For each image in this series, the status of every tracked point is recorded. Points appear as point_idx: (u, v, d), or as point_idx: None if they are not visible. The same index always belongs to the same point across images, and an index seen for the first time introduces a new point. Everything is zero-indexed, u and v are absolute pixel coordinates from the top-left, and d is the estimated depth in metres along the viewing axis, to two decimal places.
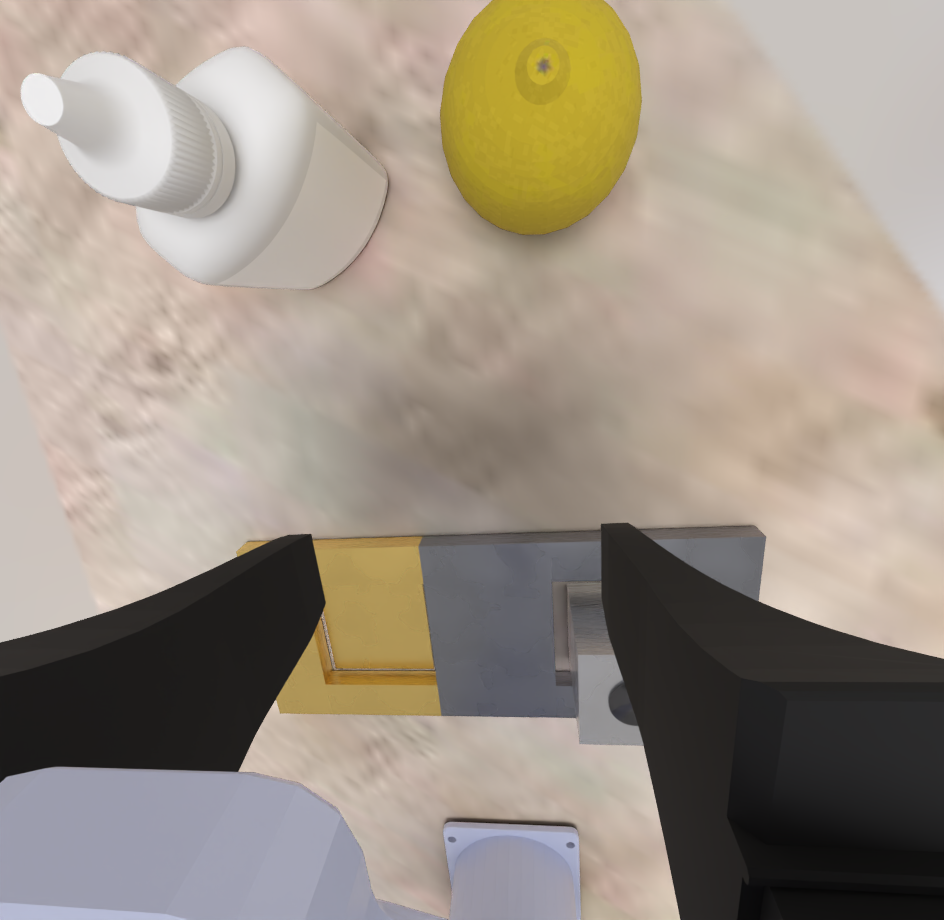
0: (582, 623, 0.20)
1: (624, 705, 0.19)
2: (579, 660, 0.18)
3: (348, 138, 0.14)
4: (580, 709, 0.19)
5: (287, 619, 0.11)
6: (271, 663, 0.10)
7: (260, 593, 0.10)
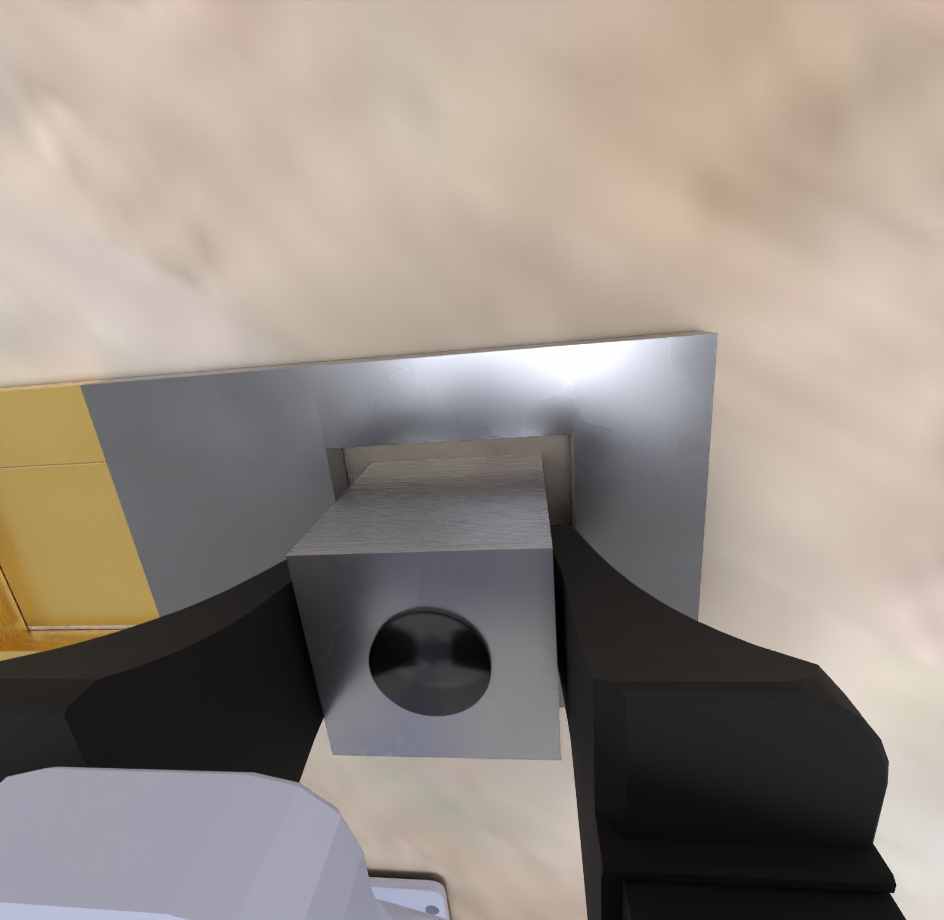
0: (345, 509, 0.10)
1: (401, 671, 0.09)
2: (291, 569, 0.08)
3: None
4: (318, 681, 0.09)
5: None
6: None
7: None
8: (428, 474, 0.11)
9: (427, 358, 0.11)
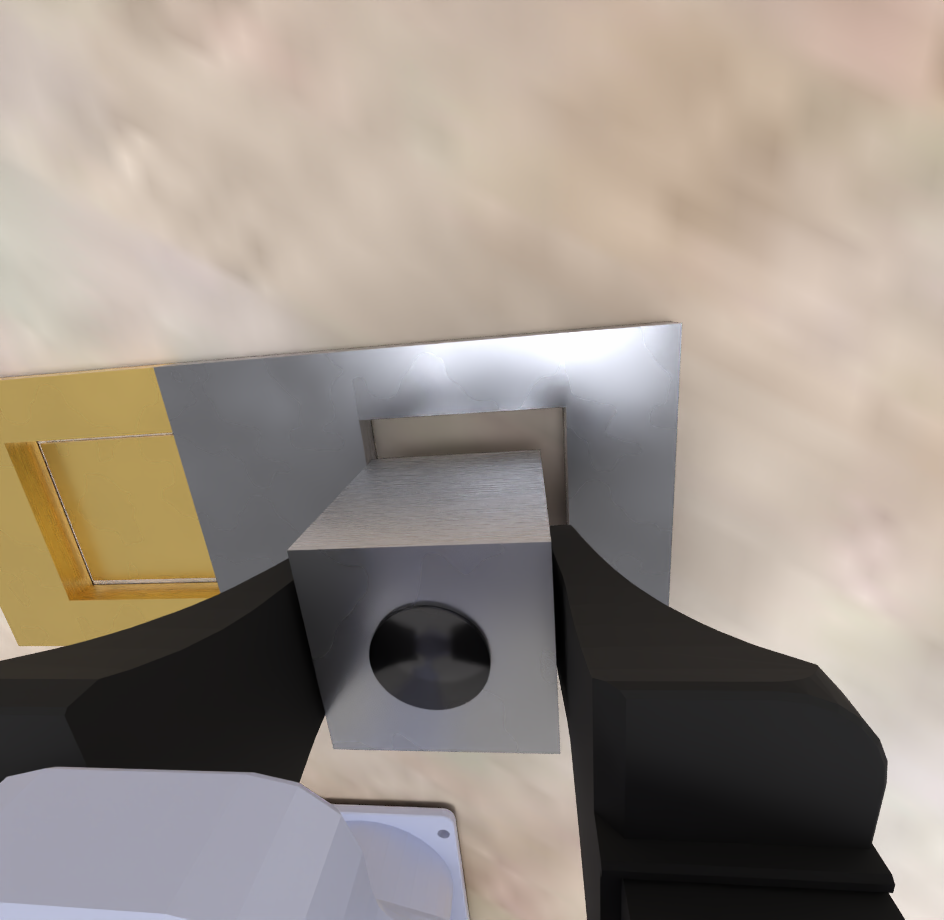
0: (346, 505, 0.10)
1: (401, 664, 0.09)
2: (292, 563, 0.08)
3: None
4: (319, 675, 0.09)
5: None
6: None
7: None
8: (428, 471, 0.12)
9: (445, 344, 0.13)
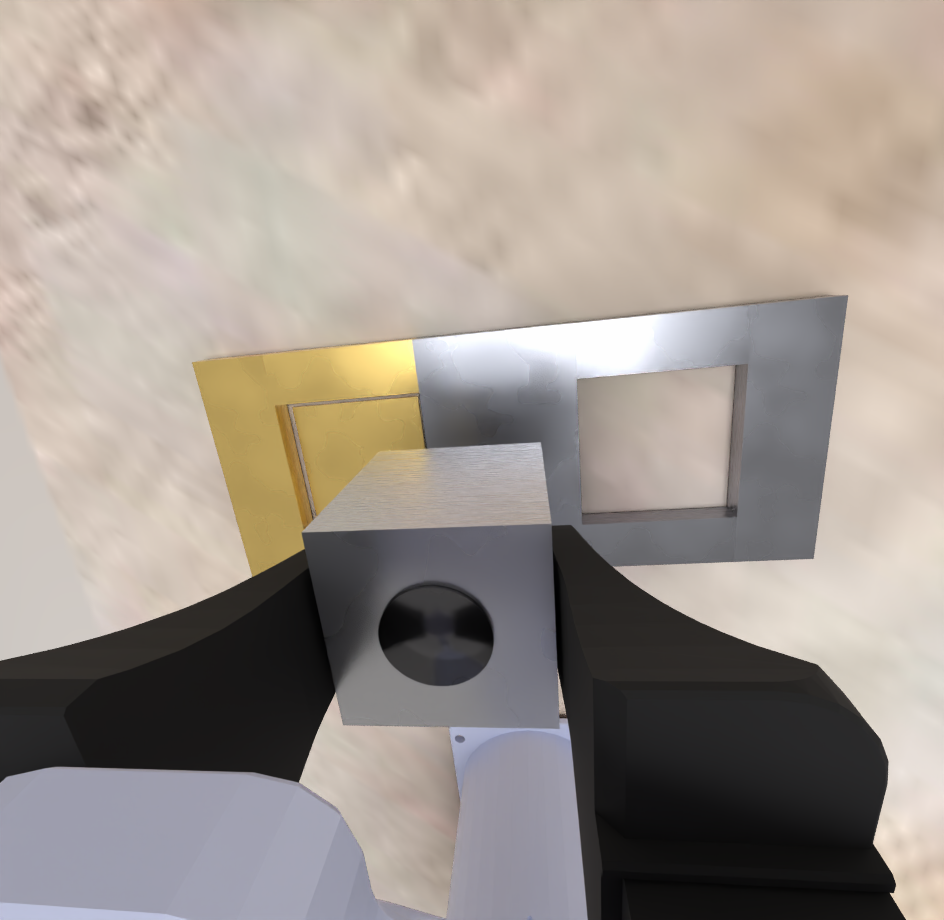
0: (355, 492, 0.10)
1: (409, 642, 0.09)
2: (306, 545, 0.09)
3: None
4: (330, 653, 0.10)
5: None
6: (328, 663, 0.10)
7: None
8: (433, 461, 0.12)
9: (655, 316, 0.17)
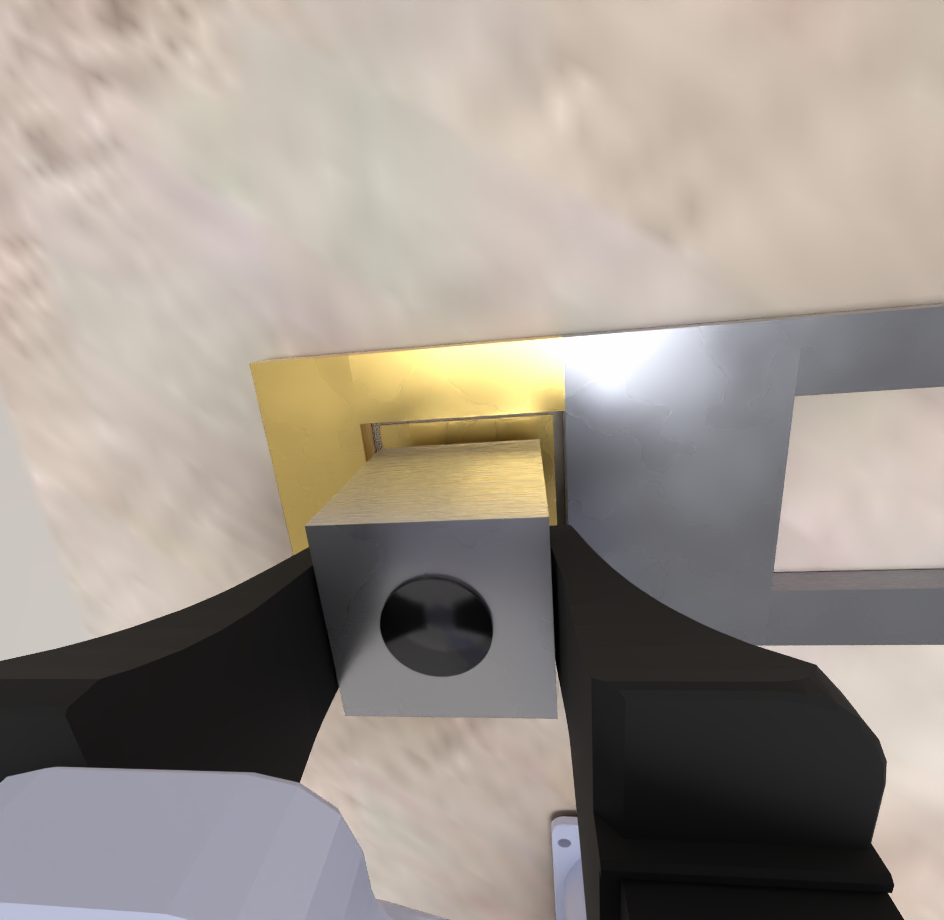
0: (357, 487, 0.11)
1: (410, 633, 0.09)
2: (309, 538, 0.09)
3: None
4: (333, 645, 0.10)
5: None
6: (329, 663, 0.10)
7: None
8: (433, 458, 0.12)
9: (924, 309, 0.12)
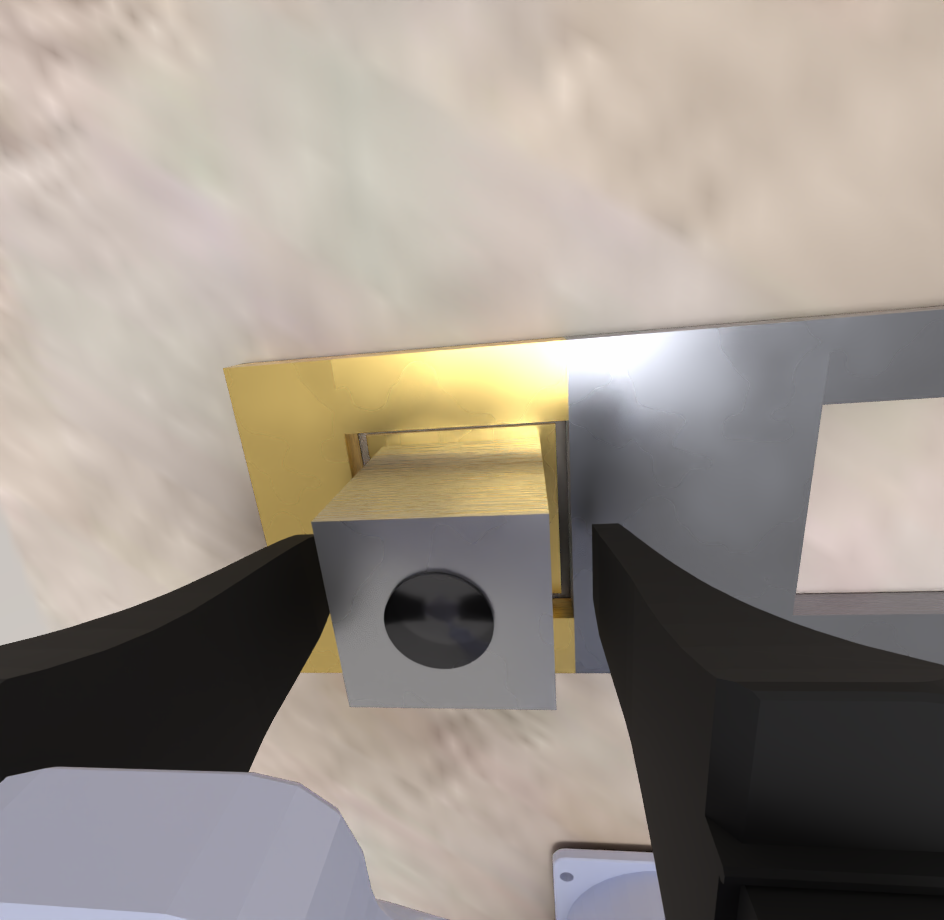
0: (361, 485, 0.11)
1: (413, 627, 0.10)
2: (316, 534, 0.09)
3: None
4: (338, 638, 0.10)
5: (296, 619, 0.11)
6: (280, 663, 0.10)
7: (269, 593, 0.10)
8: (435, 456, 0.12)
9: None
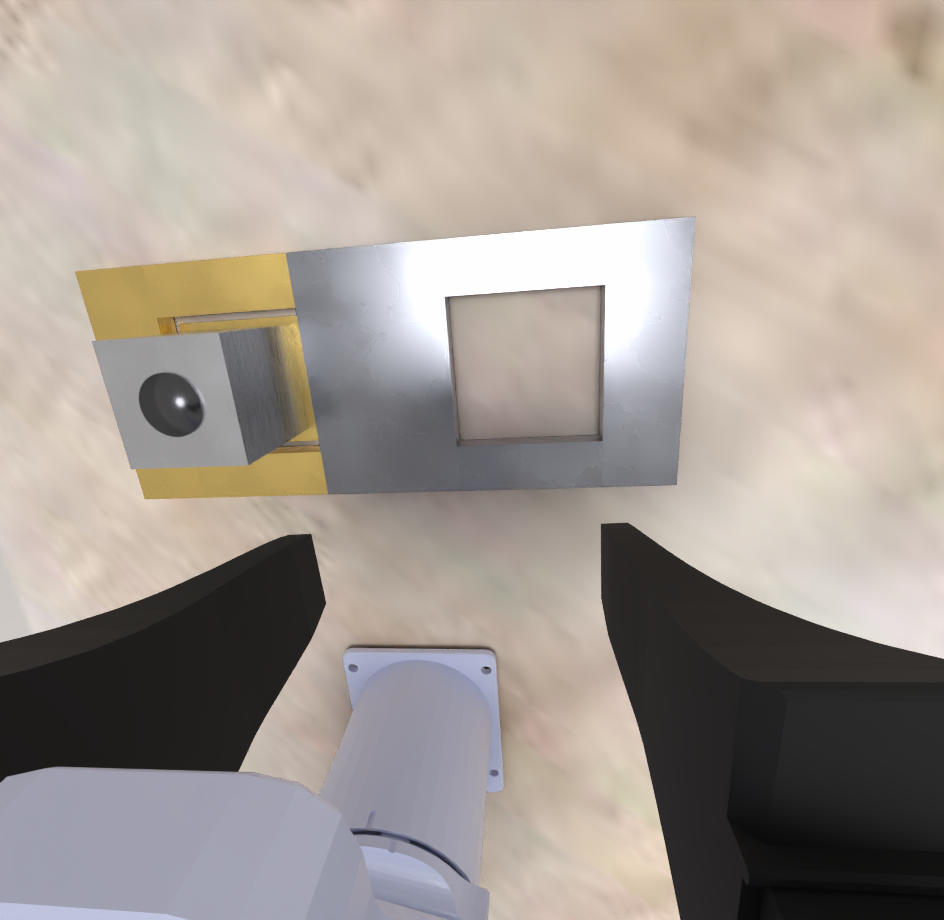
0: None
1: (156, 408, 0.16)
2: (95, 348, 0.16)
3: None
4: (117, 419, 0.17)
5: (287, 619, 0.11)
6: (271, 663, 0.10)
7: (260, 593, 0.10)
8: (211, 330, 0.19)
9: (515, 233, 0.17)
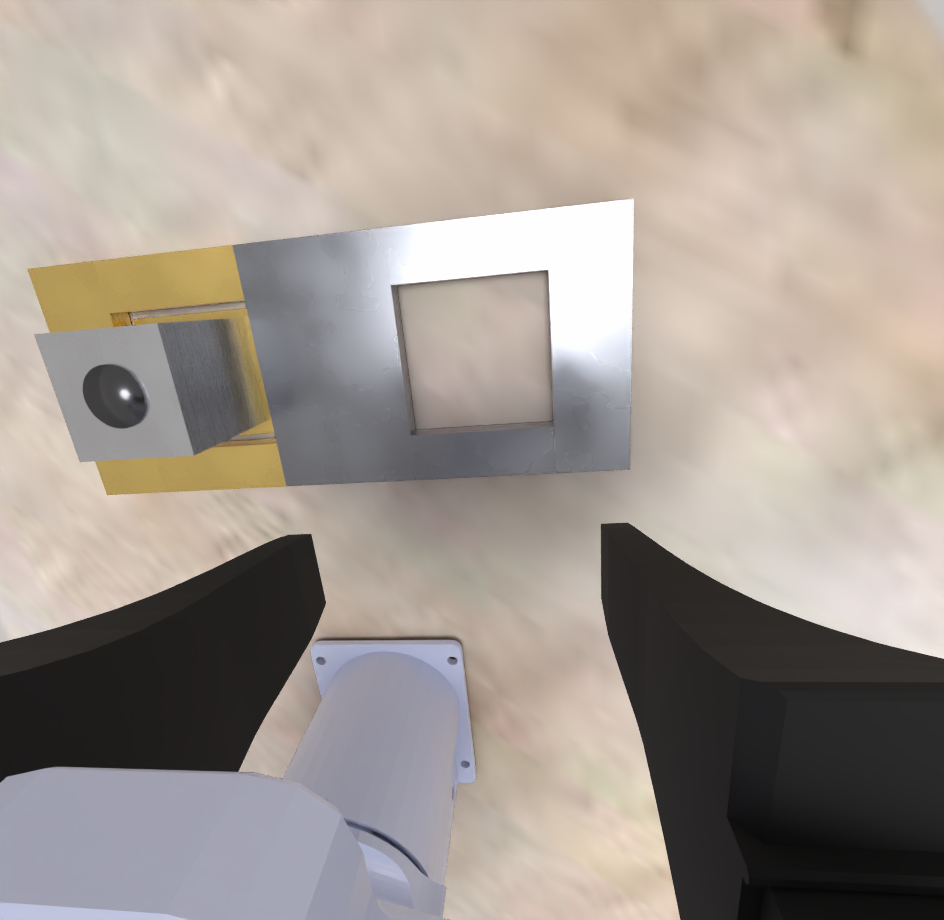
0: None
1: (100, 400, 0.16)
2: (38, 342, 0.16)
3: None
4: (63, 412, 0.17)
5: (287, 619, 0.11)
6: (271, 663, 0.10)
7: (260, 593, 0.10)
8: None
9: (457, 220, 0.17)
